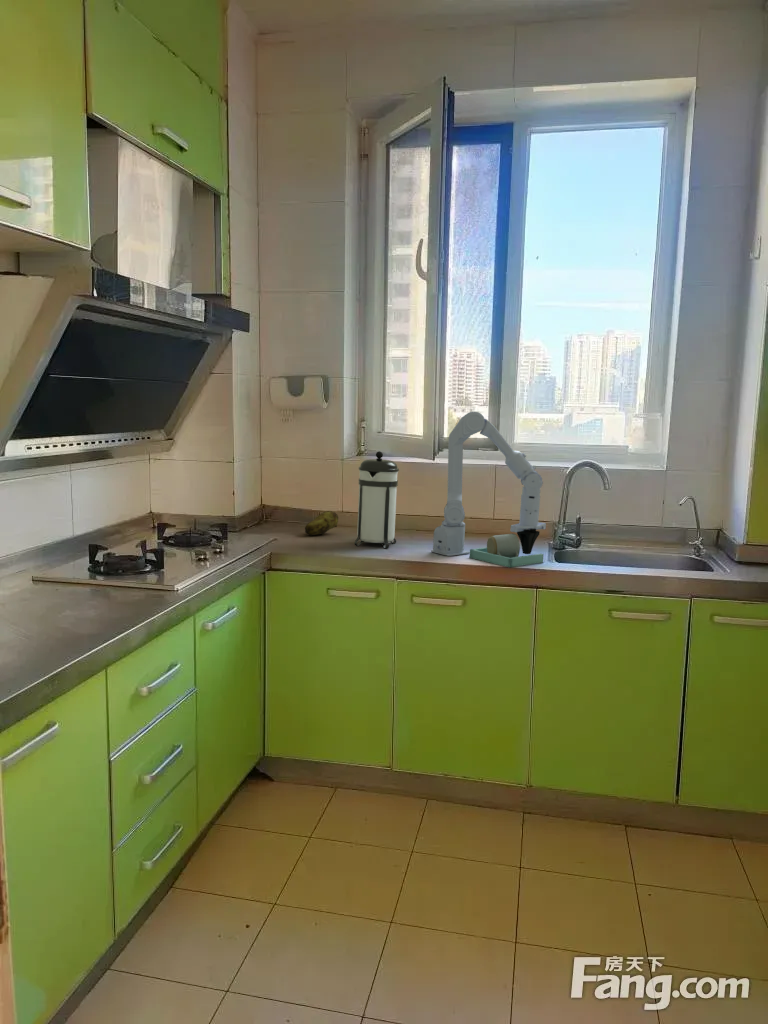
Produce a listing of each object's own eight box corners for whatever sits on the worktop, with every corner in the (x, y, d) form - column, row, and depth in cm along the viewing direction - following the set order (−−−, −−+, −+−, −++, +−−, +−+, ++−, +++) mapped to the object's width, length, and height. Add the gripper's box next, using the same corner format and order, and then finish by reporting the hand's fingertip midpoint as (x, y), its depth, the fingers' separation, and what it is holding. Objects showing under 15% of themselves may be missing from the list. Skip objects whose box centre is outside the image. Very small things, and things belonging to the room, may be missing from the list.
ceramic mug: (484, 556, 235) (486, 531, 234) (509, 556, 237) (510, 531, 236) (498, 564, 225) (500, 538, 224) (524, 564, 227) (526, 538, 226)
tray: (509, 567, 221) (510, 558, 221) (469, 557, 233) (469, 549, 233) (542, 562, 231) (543, 554, 230) (502, 553, 243) (503, 545, 242)
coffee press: (409, 547, 245) (414, 453, 241) (364, 549, 238) (368, 452, 234) (385, 538, 260) (389, 449, 256) (342, 540, 253) (345, 448, 249)
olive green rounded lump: (298, 533, 263) (299, 510, 262) (333, 532, 269) (333, 509, 268) (307, 537, 255) (308, 513, 254) (343, 536, 261) (343, 512, 260)
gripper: (524, 513, 228) (521, 558, 230) (555, 510, 238) (551, 553, 240) (506, 509, 234) (503, 553, 236) (536, 507, 243) (533, 549, 245)
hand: (526, 553), depth 238 cm, fingers closed
